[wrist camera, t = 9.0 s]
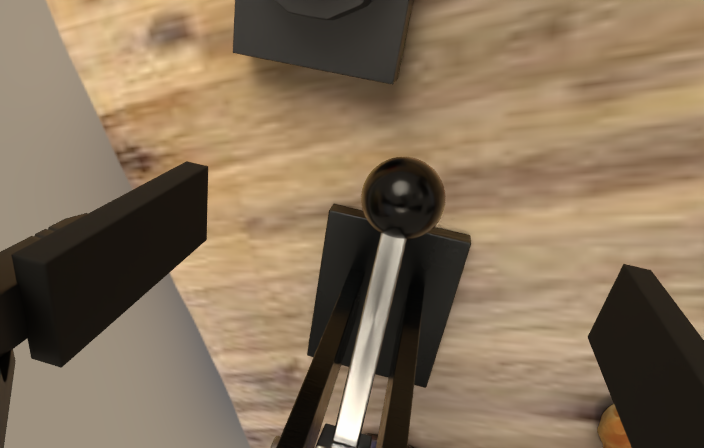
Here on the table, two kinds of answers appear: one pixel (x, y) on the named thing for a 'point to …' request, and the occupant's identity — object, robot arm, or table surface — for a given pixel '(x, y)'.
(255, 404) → the table surface
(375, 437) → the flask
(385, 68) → the stop box
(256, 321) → the table surface
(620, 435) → the pastry
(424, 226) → the switch lever
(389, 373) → the switch bracket
